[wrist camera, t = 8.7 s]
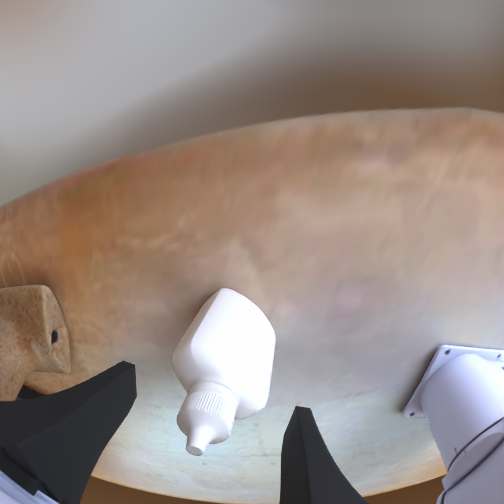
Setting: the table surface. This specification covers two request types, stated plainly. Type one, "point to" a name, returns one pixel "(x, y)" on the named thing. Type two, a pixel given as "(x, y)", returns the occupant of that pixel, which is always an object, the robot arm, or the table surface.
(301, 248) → the table surface
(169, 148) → the table surface
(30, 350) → the stone cup
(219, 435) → the eye dropper bottle
